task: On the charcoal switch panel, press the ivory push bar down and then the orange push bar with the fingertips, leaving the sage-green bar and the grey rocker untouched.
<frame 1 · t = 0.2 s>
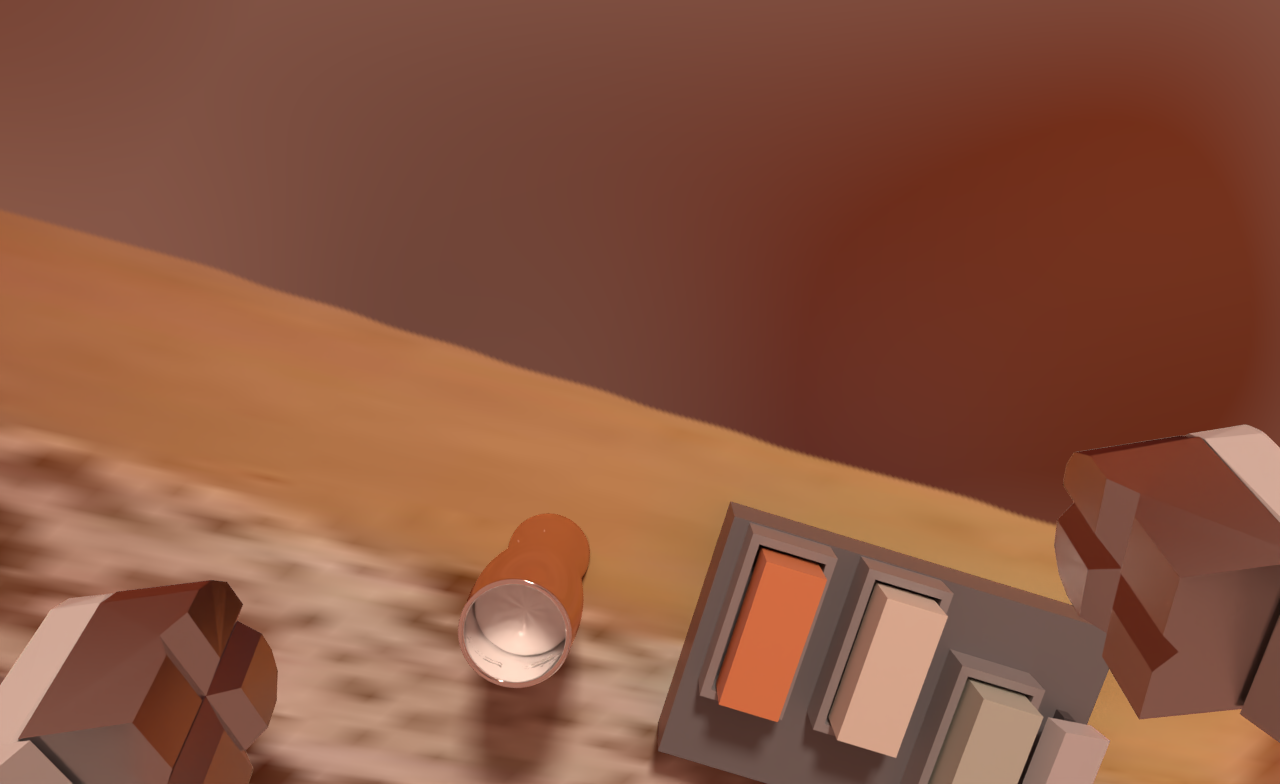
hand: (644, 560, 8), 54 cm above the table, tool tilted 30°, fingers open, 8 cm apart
bar sage: (978, 764, 57), point 8 cm above the table, slide at 0.0 cm
bar ivory: (885, 668, 57), point 8 cm above the table, slide at 0.0 cm
beer glass: (549, 551, 64), on the table
bar orange: (769, 633, 57), point 8 cm above the table, slide at 0.0 cm
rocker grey: (1057, 782, 59), point 7 cm above the table, hinge at -14.0°
panel: (872, 668, 65), on the table
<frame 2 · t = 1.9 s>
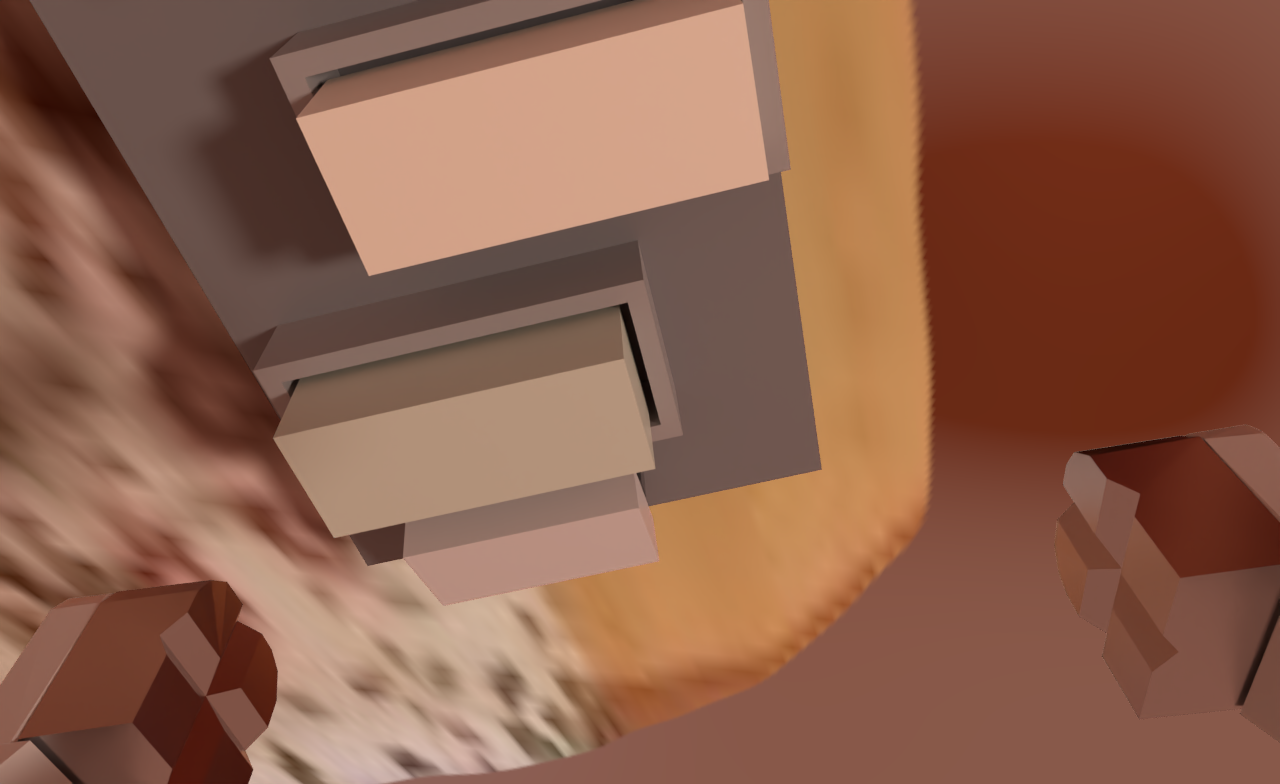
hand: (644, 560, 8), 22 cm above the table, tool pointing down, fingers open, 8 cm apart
bar sage: (474, 422, 26), point 8 cm above the table, slide at 0.0 cm
bar ivory: (543, 128, 21), point 7 cm above the table, slide at 0.0 cm
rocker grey: (534, 536, 30), point 7 cm above the table, hinge at -14.0°
panel: (479, 134, 28), on the table
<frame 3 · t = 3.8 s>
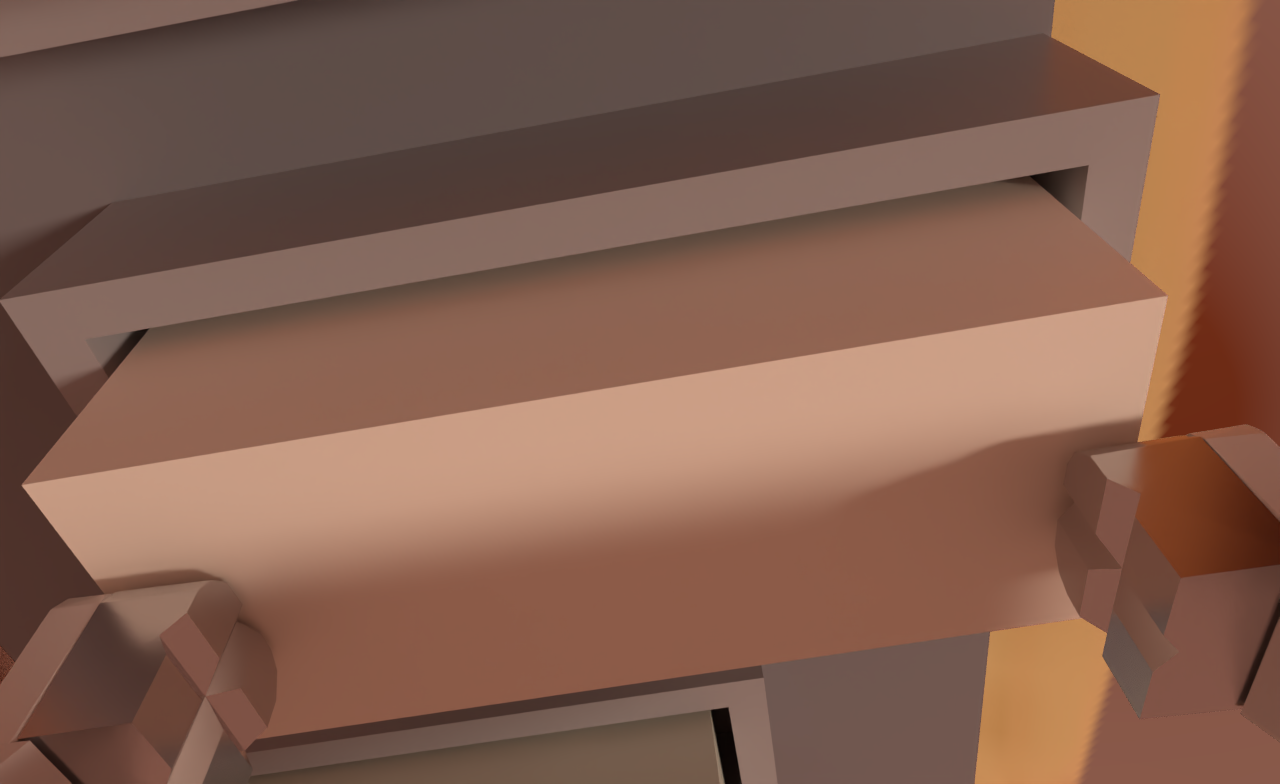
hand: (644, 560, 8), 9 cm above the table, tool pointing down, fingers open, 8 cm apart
bar ivory: (612, 460, 10), point 7 cm above the table, slide at 0.3 cm, touching gripper
panel: (472, 330, 17), on the table
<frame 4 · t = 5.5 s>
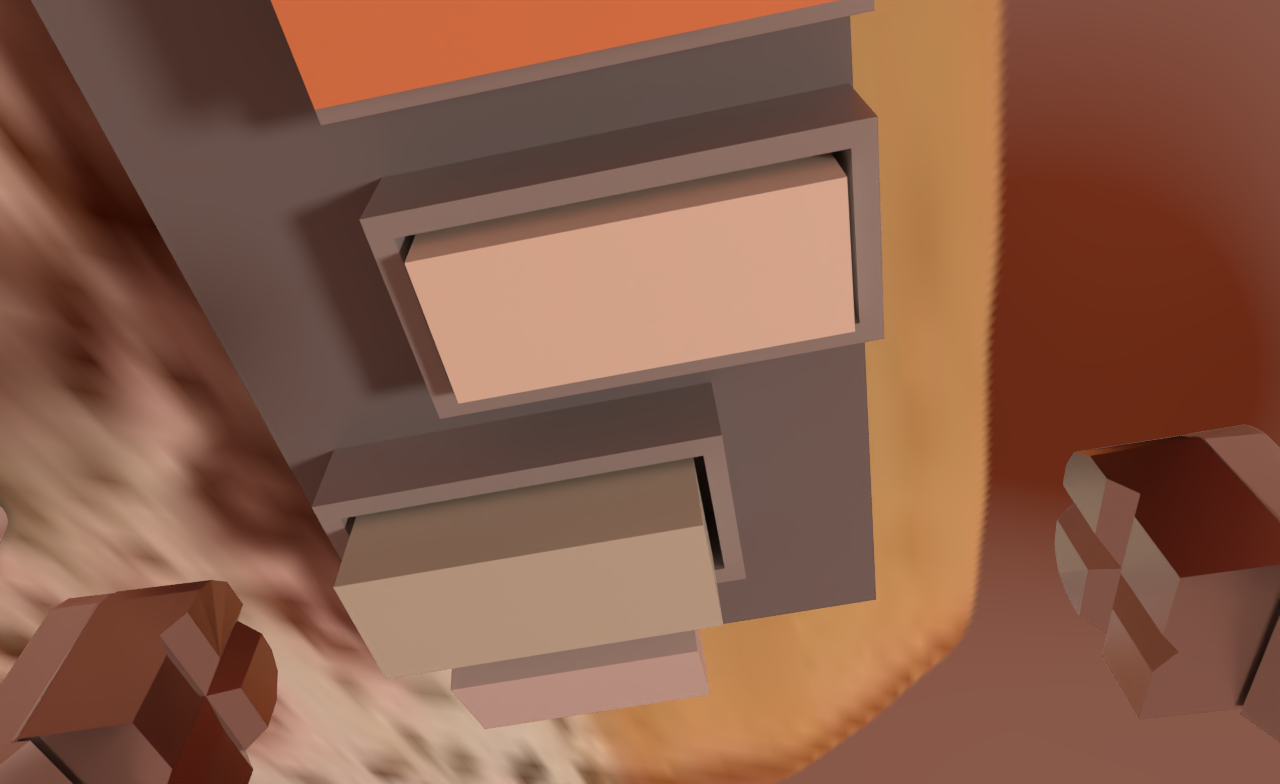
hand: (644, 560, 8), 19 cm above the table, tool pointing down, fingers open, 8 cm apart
bar sage: (537, 566, 25), point 8 cm above the table, slide at 0.0 cm
bar ivory: (635, 269, 22), point 6 cm above the table, slide at 1.6 cm
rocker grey: (583, 666, 29), point 6 cm above the table, hinge at -14.0°
panel: (548, 258, 28), on the table
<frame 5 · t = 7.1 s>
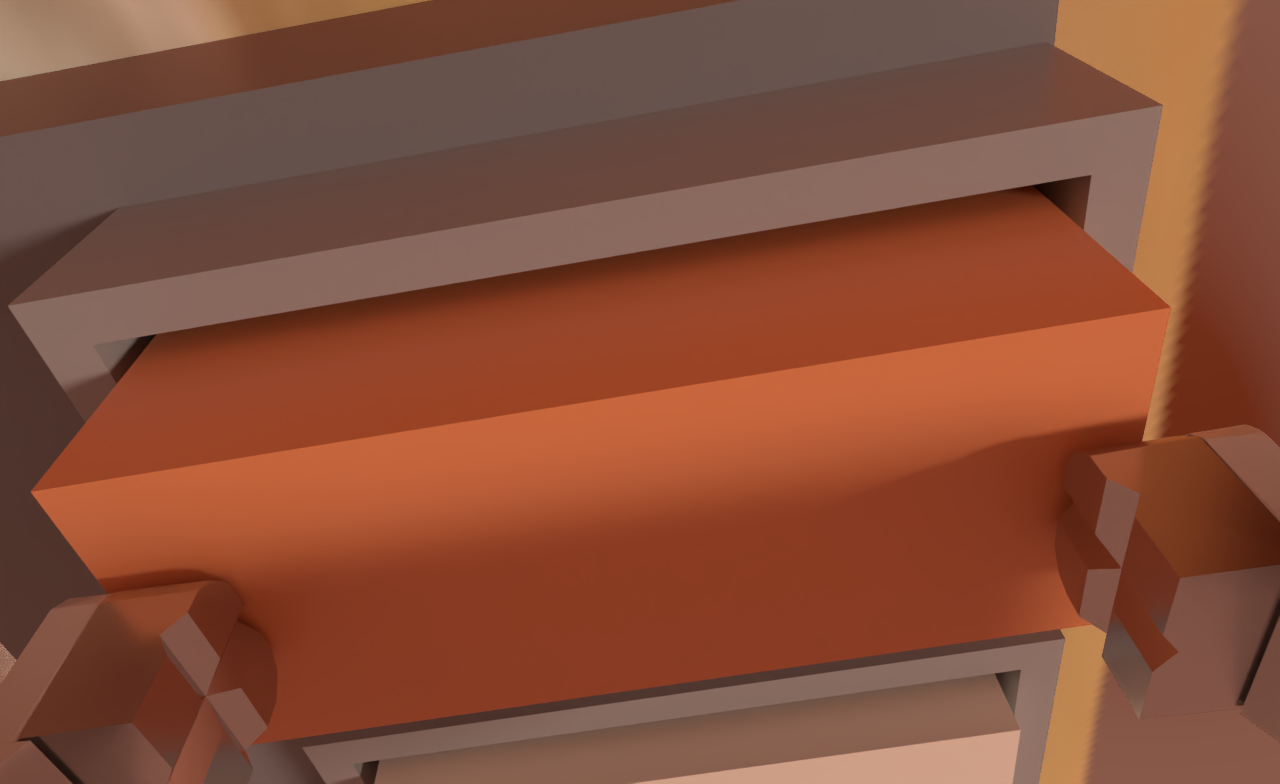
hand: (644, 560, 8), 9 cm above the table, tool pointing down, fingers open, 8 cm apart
bar ivory: (693, 759, 15), point 6 cm above the table, slide at 1.6 cm
bar orange: (616, 467, 10), point 7 cm above the table, slide at 0.3 cm, touching gripper
panel: (561, 604, 22), on the table
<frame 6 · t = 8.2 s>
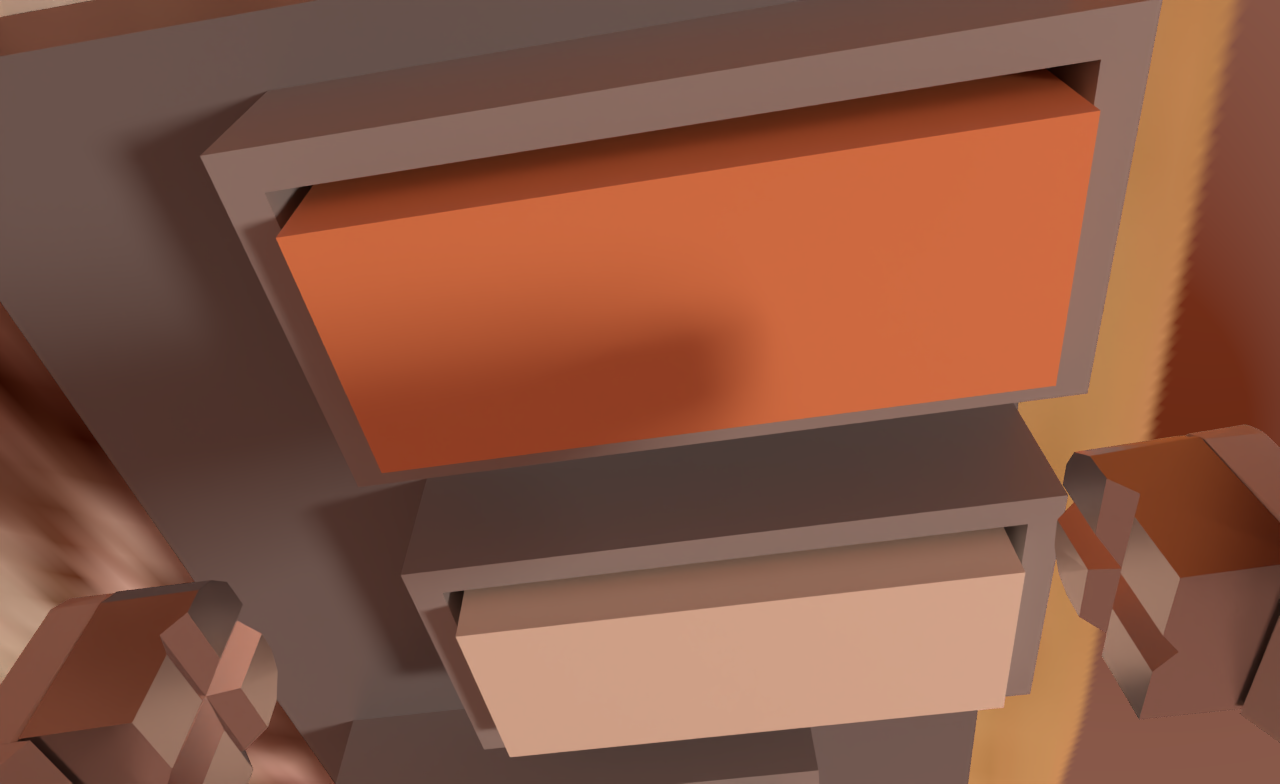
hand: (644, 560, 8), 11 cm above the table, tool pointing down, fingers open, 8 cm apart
bar ivory: (734, 610, 18), point 6 cm above the table, slide at 1.6 cm
bar orange: (685, 263, 13), point 6 cm above the table, slide at 1.6 cm
panel: (610, 497, 24), on the table
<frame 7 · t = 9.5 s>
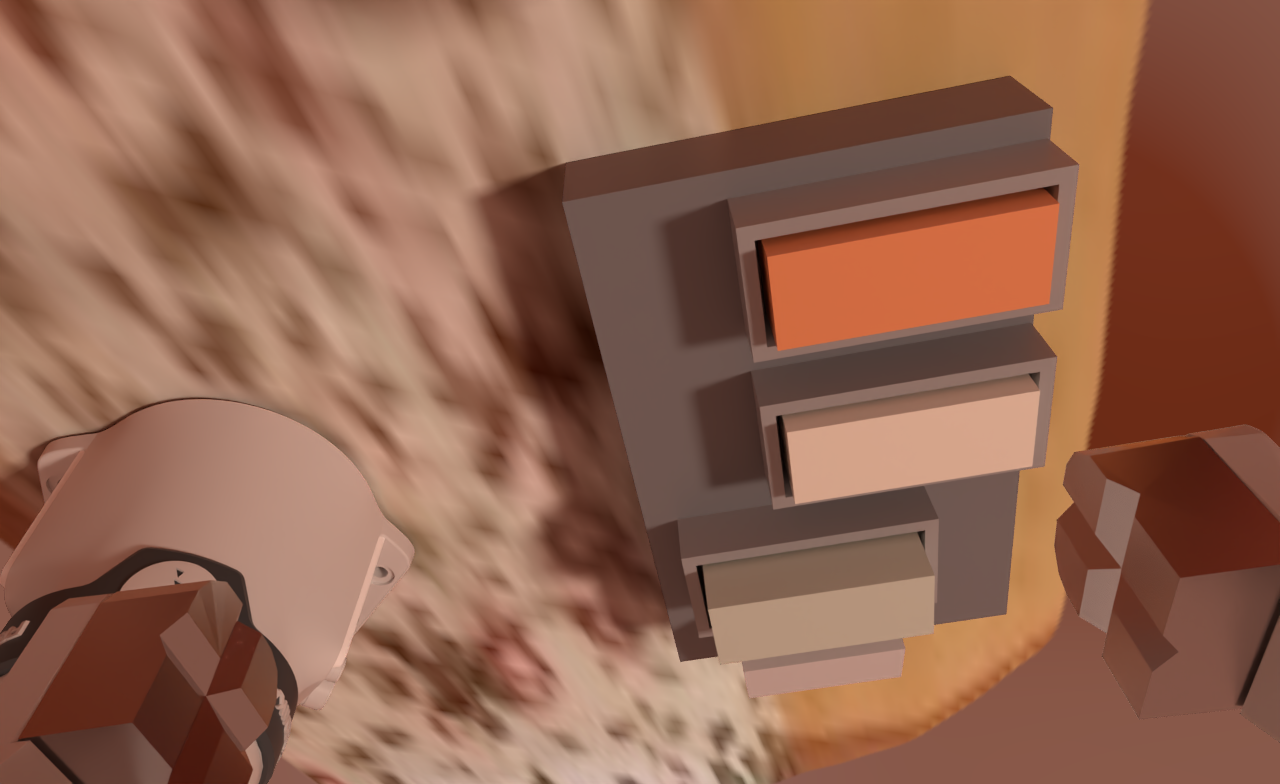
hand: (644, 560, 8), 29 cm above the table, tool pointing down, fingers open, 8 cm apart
bar sage: (816, 596, 41), point 8 cm above the table, slide at 0.0 cm
bar ivory: (902, 427, 37), point 6 cm above the table, slide at 1.6 cm
bar orange: (899, 261, 32), point 6 cm above the table, slide at 1.6 cm
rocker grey: (820, 657, 45), point 6 cm above the table, hinge at -14.0°
panel: (808, 395, 43), on the table
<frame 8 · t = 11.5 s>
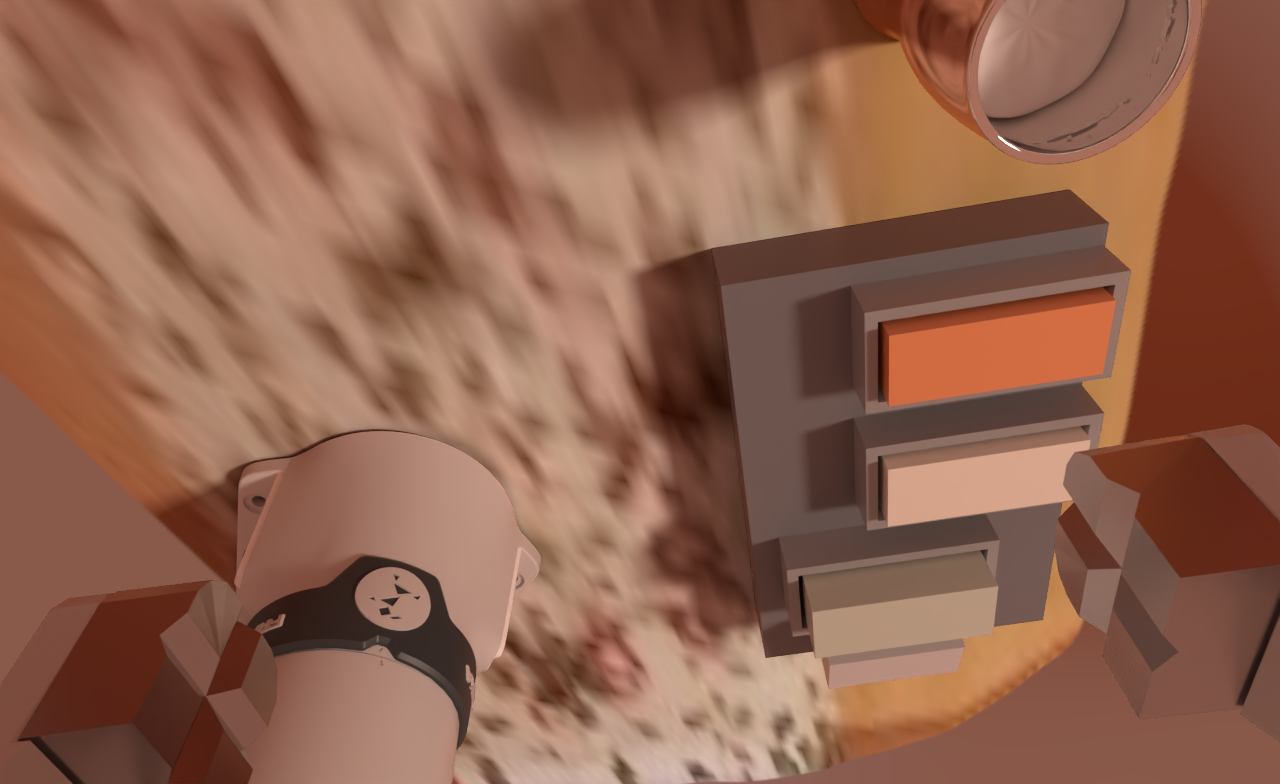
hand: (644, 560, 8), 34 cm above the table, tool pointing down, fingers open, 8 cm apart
bar sage: (896, 602, 49), point 7 cm above the table, slide at 0.0 cm
bar ivory: (975, 465, 45), point 6 cm above the table, slide at 1.6 cm
bar orange: (986, 338, 41), point 6 cm above the table, slide at 1.6 cm
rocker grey: (890, 654, 53), point 6 cm above the table, hinge at -14.0°
panel: (887, 434, 52), on the table
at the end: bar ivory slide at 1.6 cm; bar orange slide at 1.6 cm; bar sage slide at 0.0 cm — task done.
